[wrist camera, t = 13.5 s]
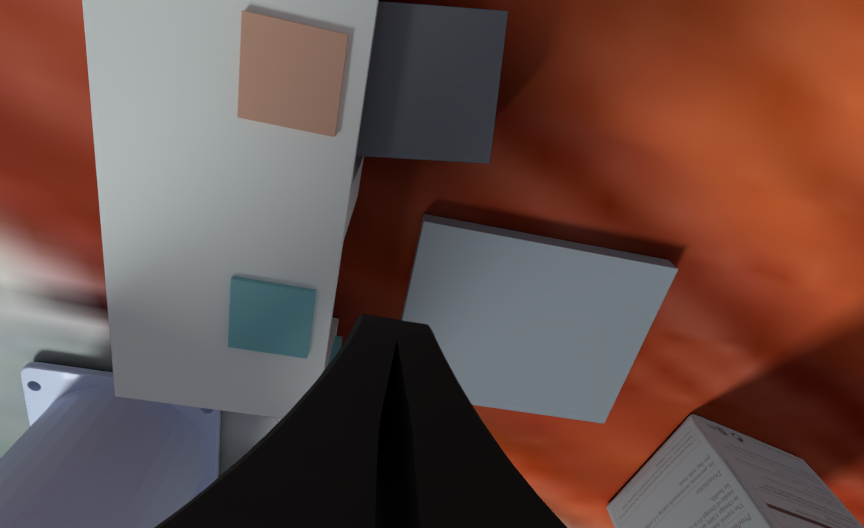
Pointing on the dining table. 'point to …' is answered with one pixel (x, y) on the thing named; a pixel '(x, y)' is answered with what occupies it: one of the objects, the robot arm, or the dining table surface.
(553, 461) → the dining table surface
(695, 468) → the supplement box
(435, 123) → the plug
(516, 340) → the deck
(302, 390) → the socket bar
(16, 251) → the dining table surface
